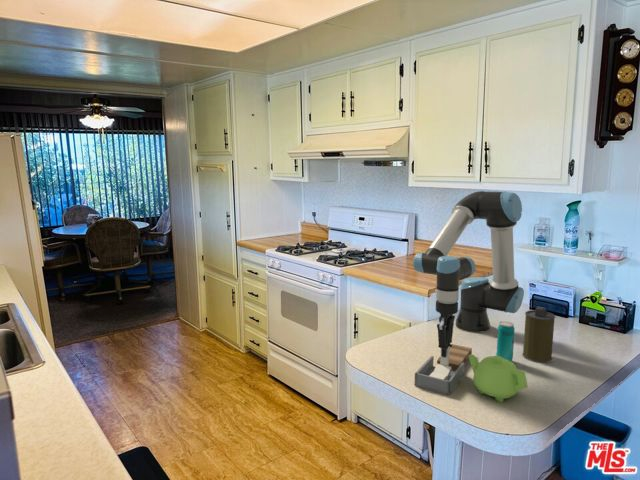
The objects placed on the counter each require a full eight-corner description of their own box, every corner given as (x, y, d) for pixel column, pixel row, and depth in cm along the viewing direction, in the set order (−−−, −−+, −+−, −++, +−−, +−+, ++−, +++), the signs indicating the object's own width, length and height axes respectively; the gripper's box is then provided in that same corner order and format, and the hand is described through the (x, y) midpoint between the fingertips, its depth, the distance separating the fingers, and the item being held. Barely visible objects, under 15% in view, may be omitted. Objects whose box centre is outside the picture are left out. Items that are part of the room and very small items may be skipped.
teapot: (457, 387, 150) (458, 352, 148) (479, 376, 158) (481, 342, 156) (513, 412, 134) (516, 373, 132) (535, 398, 142) (538, 361, 140)
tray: (431, 366, 165) (431, 355, 165) (463, 374, 159) (464, 363, 158) (414, 385, 151) (414, 373, 151) (449, 394, 145) (449, 382, 144)
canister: (549, 365, 166) (552, 313, 163) (519, 358, 172) (522, 308, 169) (554, 355, 175) (558, 306, 171) (526, 349, 181) (529, 301, 178)
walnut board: (451, 351, 180) (451, 344, 179) (471, 355, 175) (471, 348, 175) (436, 367, 165) (437, 360, 164) (458, 372, 160) (458, 365, 160)
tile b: (427, 377, 152) (427, 383, 152) (441, 381, 149) (441, 386, 149) (432, 372, 156) (432, 377, 156) (446, 375, 153) (446, 381, 153)
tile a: (437, 368, 160) (437, 363, 159) (451, 371, 157) (451, 366, 157) (433, 377, 156) (432, 372, 156) (447, 380, 154) (447, 375, 153)
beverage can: (513, 365, 166) (516, 326, 164) (497, 363, 167) (499, 325, 165) (510, 358, 172) (512, 321, 170) (495, 357, 173) (497, 320, 171)
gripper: (442, 294, 162) (440, 355, 166) (430, 303, 152) (428, 368, 155) (463, 297, 158) (460, 360, 162) (452, 307, 148) (449, 373, 151)
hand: (444, 364), depth 159 cm, fingers closed
